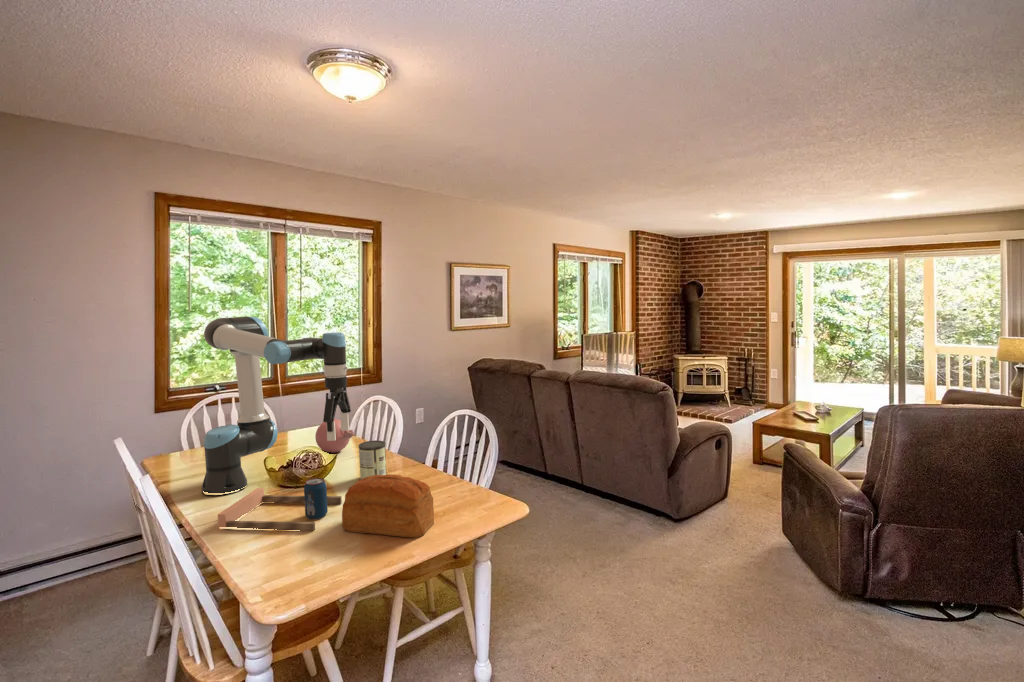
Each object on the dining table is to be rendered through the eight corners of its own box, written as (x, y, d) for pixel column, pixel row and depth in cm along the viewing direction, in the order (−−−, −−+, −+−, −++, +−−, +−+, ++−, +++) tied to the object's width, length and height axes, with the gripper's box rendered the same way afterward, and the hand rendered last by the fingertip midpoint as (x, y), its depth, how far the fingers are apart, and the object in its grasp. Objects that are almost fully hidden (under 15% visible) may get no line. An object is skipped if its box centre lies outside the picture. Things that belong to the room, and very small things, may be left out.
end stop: (218, 530, 164) (217, 514, 164) (257, 501, 186) (257, 488, 186) (226, 530, 164) (225, 514, 163) (264, 502, 186) (263, 488, 186)
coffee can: (365, 474, 214) (364, 440, 213) (390, 474, 213) (389, 440, 212) (355, 482, 204) (354, 447, 203) (381, 483, 203) (380, 447, 202)
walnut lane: (226, 530, 164) (225, 522, 164) (264, 502, 186) (264, 495, 186) (313, 531, 162) (313, 523, 162) (341, 503, 184) (341, 496, 184)
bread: (418, 542, 154) (416, 489, 153) (336, 533, 161) (334, 483, 159) (438, 519, 170) (437, 471, 169) (363, 512, 176) (361, 466, 175)
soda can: (327, 510, 178) (325, 476, 177) (328, 518, 171) (326, 482, 170) (305, 514, 175) (303, 478, 174) (305, 522, 169) (303, 485, 168)
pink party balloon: (341, 460, 233) (339, 426, 232) (308, 454, 242) (307, 421, 241) (365, 450, 247) (364, 418, 245) (333, 445, 256) (332, 414, 254)
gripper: (333, 381, 173) (336, 444, 175) (357, 371, 198) (359, 426, 200) (310, 382, 174) (314, 445, 175) (337, 371, 198) (340, 426, 200)
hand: (338, 435), depth 188 cm, fingers open, 13 cm apart
